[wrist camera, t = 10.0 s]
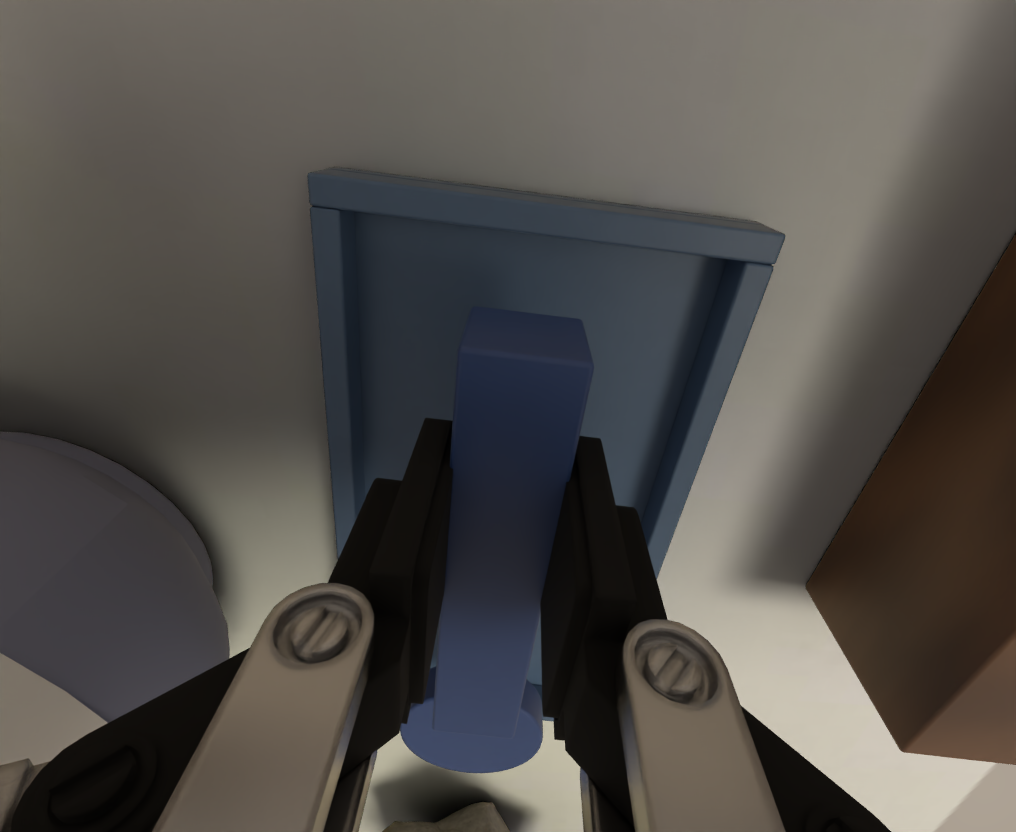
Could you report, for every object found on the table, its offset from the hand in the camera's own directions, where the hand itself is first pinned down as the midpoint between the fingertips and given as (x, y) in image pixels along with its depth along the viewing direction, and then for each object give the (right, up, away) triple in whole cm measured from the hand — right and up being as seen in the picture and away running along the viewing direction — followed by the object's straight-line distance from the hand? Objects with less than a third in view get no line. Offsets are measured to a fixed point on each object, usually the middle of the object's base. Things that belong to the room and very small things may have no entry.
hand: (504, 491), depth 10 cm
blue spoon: (0, -3, +2) cm, 3 cm away
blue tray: (0, -1, +5) cm, 5 cm away
